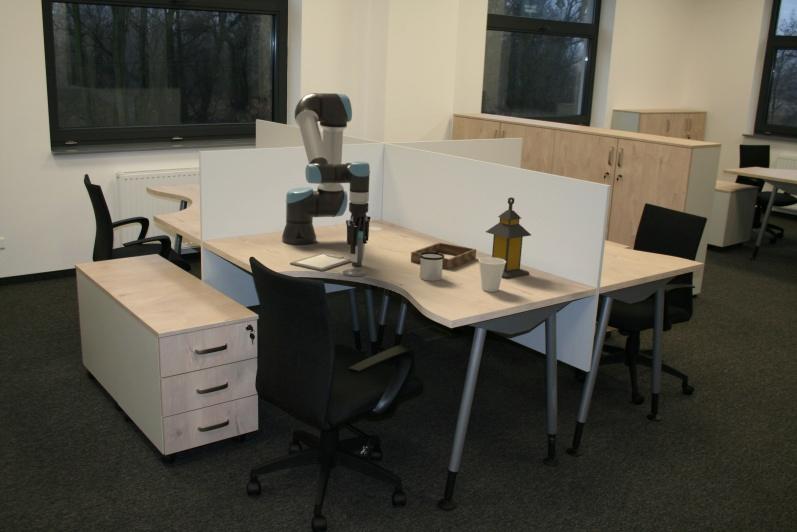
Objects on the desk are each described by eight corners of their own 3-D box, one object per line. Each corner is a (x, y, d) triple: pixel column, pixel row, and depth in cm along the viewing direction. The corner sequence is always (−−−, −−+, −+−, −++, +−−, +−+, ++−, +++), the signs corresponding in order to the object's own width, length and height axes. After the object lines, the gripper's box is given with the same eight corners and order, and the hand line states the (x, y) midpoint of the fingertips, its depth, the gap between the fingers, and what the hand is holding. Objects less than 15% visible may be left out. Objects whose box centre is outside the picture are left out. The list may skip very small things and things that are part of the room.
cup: (474, 285, 276) (476, 256, 273) (500, 286, 277) (502, 257, 274) (479, 293, 266) (481, 264, 263) (506, 294, 267) (509, 264, 264)
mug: (435, 283, 277) (436, 259, 274) (413, 278, 282) (414, 255, 279) (450, 276, 287) (452, 253, 284) (429, 272, 291) (430, 249, 289)
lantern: (480, 270, 297) (485, 196, 289) (505, 266, 305) (511, 193, 297) (505, 279, 286) (511, 202, 278) (530, 274, 294) (537, 199, 287)
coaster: (352, 269, 291) (352, 267, 291) (370, 273, 286) (371, 271, 286) (338, 273, 283) (338, 272, 283) (357, 278, 279) (357, 276, 279)
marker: (355, 263, 299) (356, 229, 295) (364, 265, 297) (365, 231, 293) (349, 265, 295) (350, 231, 292) (358, 267, 293) (359, 232, 290)
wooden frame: (438, 251, 324) (439, 242, 323) (475, 258, 315) (476, 249, 314) (410, 261, 305) (411, 252, 304) (449, 269, 296) (449, 259, 295)
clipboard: (321, 254, 310) (321, 251, 310) (352, 261, 302) (352, 258, 302) (290, 264, 294) (290, 261, 293) (322, 271, 286) (322, 268, 285)
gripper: (363, 198, 298) (361, 255, 304) (338, 203, 284) (336, 262, 291) (379, 200, 294) (377, 258, 300) (354, 206, 281) (352, 266, 287)
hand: (357, 260), depth 295 cm, fingers closed on marker, 4 cm apart
